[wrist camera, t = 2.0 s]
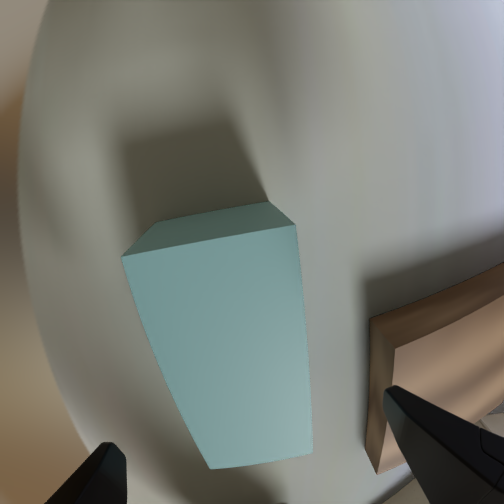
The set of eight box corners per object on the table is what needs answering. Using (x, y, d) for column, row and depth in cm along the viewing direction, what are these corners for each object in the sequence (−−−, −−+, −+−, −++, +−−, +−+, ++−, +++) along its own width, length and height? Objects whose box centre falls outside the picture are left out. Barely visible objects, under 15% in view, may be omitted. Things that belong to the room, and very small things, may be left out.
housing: (292, 388, 16) (312, 452, 12) (210, 402, 16) (210, 469, 11) (268, 200, 13) (295, 224, 8) (156, 221, 13) (120, 256, 8)
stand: (486, 385, 20) (502, 402, 17) (364, 449, 19) (376, 475, 16) (517, 255, 15) (543, 268, 12) (369, 318, 15) (395, 348, 12)
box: (416, 512, 34) (528, 404, 26) (427, 537, 27) (550, 429, 19) (328, 531, 30) (473, 410, 22) (337, 565, 23) (506, 453, 15)
